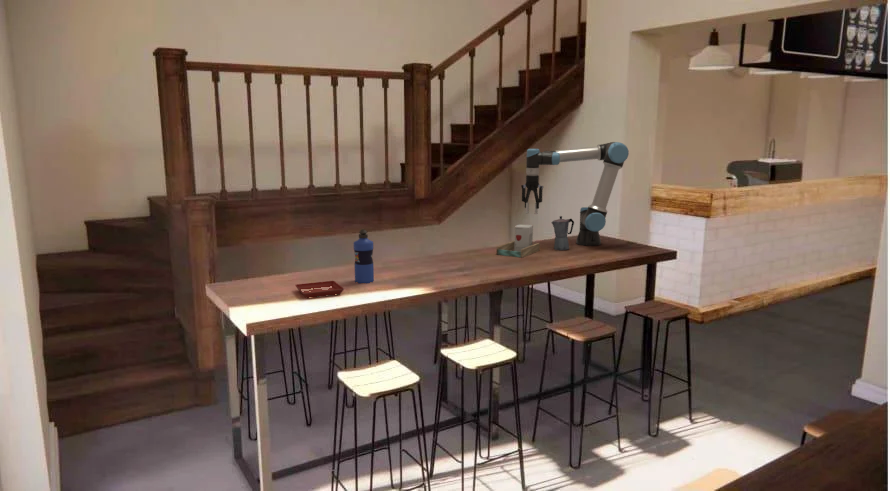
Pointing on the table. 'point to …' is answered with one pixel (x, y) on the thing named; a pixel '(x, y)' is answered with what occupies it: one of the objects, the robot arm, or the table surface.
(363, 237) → the water bottle
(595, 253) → the table surface
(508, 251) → the tray
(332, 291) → the plant saucer
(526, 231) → the supplement box
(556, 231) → the moka pot
